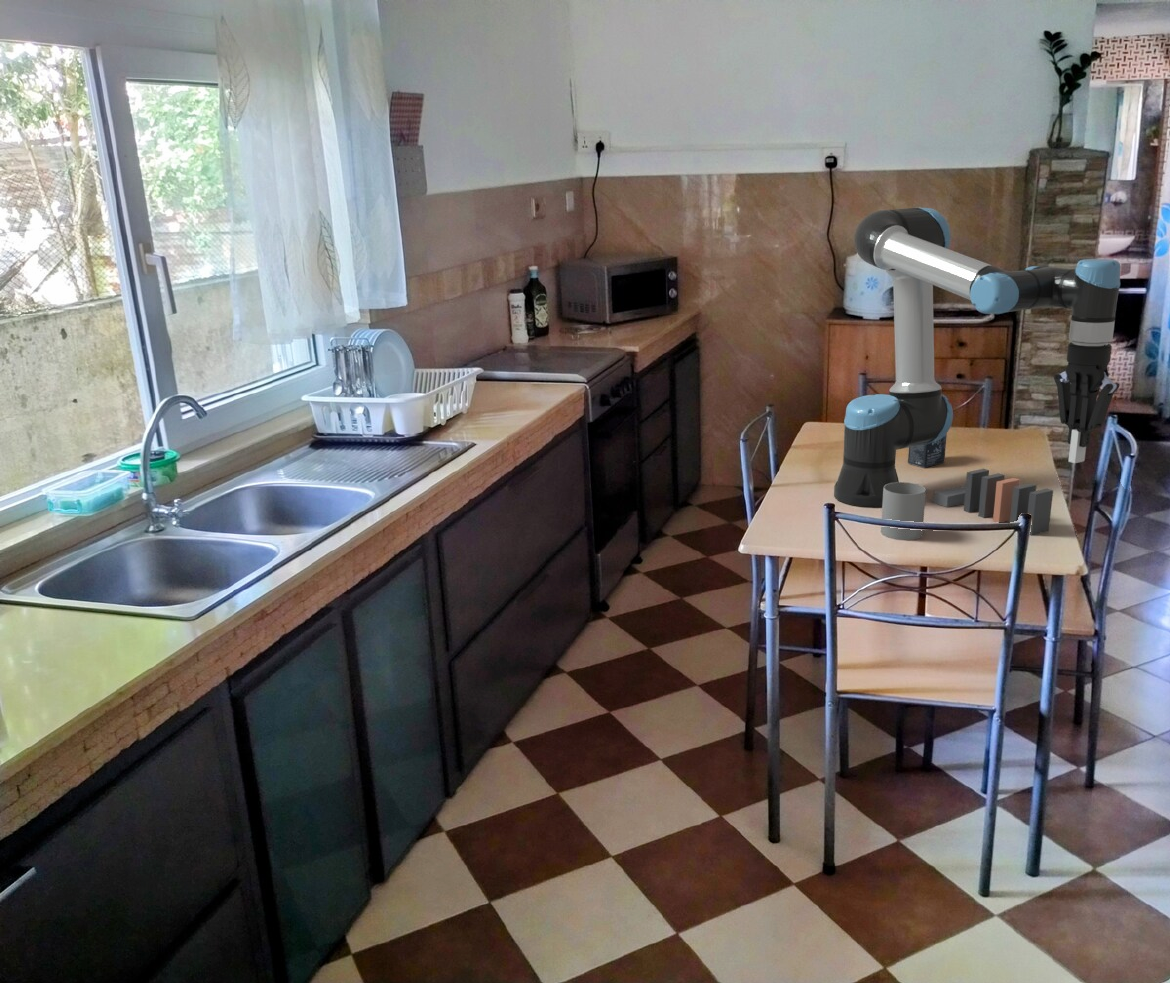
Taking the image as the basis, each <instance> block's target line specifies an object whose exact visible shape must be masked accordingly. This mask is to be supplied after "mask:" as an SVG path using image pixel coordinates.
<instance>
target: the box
mask: <svg viewBox="0 0 1170 983" xmlns="http://www.w3.org/2000/svg"><path fill="white" fill-rule="evenodd" d="M947 434H948V433H947ZM947 434H945V435H944V437H943V438H941V439H940V440H938V441H935V442H931V443H929V444H927V445H918V446H913V447H908V454H907V455H908V456H907V464H909V465H912V466H916V467H919V468H923V469H925V468H929V467H931V466H932V467H933V466H937V465H940V464H943V463H945V457H946V447H947V446H946V445H947V437H948V436H947Z"/></svg>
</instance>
